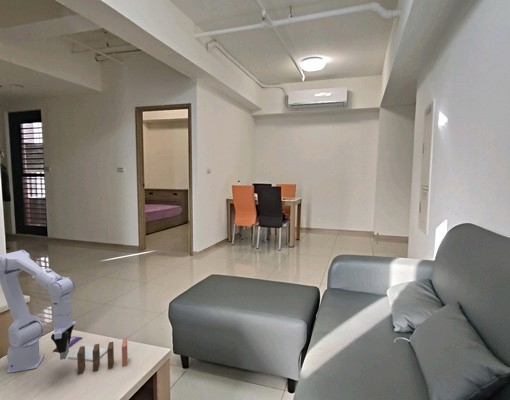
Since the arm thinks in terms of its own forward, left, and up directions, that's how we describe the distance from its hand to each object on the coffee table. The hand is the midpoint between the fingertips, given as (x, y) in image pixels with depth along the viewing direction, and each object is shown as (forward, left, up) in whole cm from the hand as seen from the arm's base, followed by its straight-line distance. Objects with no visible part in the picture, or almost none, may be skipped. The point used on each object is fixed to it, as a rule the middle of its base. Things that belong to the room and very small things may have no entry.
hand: (64, 347), depth 112 cm
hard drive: (+6, +10, -11) cm, 16 cm away
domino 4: (+15, 0, -10) cm, 18 cm away
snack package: (-4, +21, -11) cm, 24 cm away
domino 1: (0, 0, -3) cm, 3 cm away
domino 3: (+10, 0, -10) cm, 14 cm away
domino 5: (+20, 0, -10) cm, 23 cm away
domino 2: (+5, 0, -10) cm, 11 cm away
